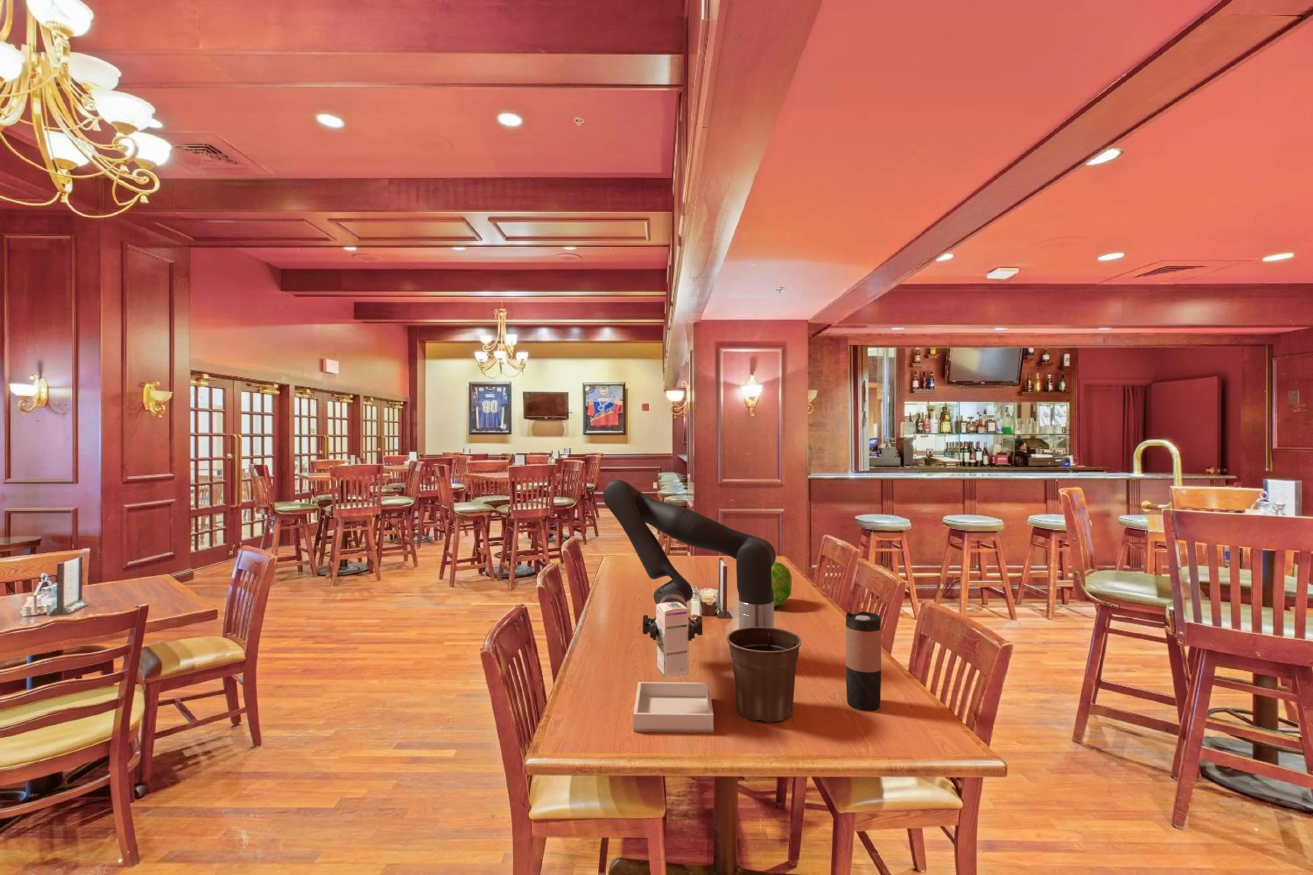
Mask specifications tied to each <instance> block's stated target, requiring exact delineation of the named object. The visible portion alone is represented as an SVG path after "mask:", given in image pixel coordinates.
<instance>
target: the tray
mask: <svg viewBox="0 0 1313 875" xmlns="http://www.w3.org/2000/svg"><path fill="white" fill-rule="evenodd" d="M635 694H636V695H635V701H634V708H633V713H632V714H633V715H632V716H633V720H632V721H633V733H688V734H689V733H691V734H692V733H697V734H698V733H699V734H700V733H701V734H703V733H704V734H705V733H707V734H708V733H709V734H711V733H712V734H713V733H714V711H713V710H714V709H713V703H712V694H711V688H710V682H690V681H689V682H685V681H684V682H682V681H681V682H680V681H679V682H678V681H677V682H675V681H674V682H672V681H671V682H669V681H668V682H667V681H662V682H661V681H638V682H637V688H636V693H635Z"/></svg>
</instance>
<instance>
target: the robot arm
mask: <svg viewBox="0 0 1313 875" xmlns="http://www.w3.org/2000/svg"><path fill="white" fill-rule="evenodd" d="M602 499H603V503H604V504H605V506H606V507H607V508H608V510H609V511H610V512H611V513H612V514H613V516H614V517H615V519H616V520H617V522H618V523H619V524H620V526H621V527H622V528H623V531H624V532H625V533H626V536H627V537H628V539H629V541H630V543H631V545H632V546H633V549H634V551H635V553H636V555H637V557H638V559H639V560H640V562H641V564H642V567H643V569H644V570H645V572H646V574H647V575H648V577H649V578H650V580H658V579H660V578H664V577H669V578H670V579H671V580H669V581H668V582H665V583H664V584H663V585H661V586H660V587H657V589H656V590H655V591H654V593H653V600H654V603H655V606H656V605H657V604H660V603H666V602H680V603H681V604H682V605H684V606H685V607H686V608H688V609H689V606H688V604H687V603H688V602H689V601H691V599H692V598H693V596H694V595H693V594H694V591H693V587H692V585H691V584H690V583H689V582H688V581H687V579H686V578H684V577H683V575H682V574H680V573H679V572H678V570H677V569H676V568H675V567H674V565H673V564H672V563H671V561H670V559H669V558H668V555H667V554H666V552H665V550H664V548H663V546H662V545H661V543H660V542H659V539H658V538H657V537H656V535H655V534H654V532H653V531H652V530H651V529H650V527H649V526H648V525H650V526H651V527H653V528H655V529H656V530H658V531H659V532H660V533H662V534H665V535H666V536H668V537H670V538H672V539H674V540H676V541H678V542H680V543H682V544H685V545H688V546H691V547H694V548H697V549H702V550H708V551H711V552H718V553H721V554H724V555H725V556H728V557H731V558H732V559H735V560H736V563H735V566H736V567H735V568H736V571H735V572H736V573H735V574H736V589H737V593H738V629H742V628H748V627H772V628H775V614H774V613H775V611H774V610H775V607H774V592H773V589H772V576H771V567H772V566H773V564H774V563H775V562H776V560H777V556H776V555H777V554H776V549H775V548H774V546H773V545H772V544H771V543H770V542H769V541H768V540H766V539H764V538H762V537H759V536H756V535H755V536H754V535H751V534H748V533H745V532H741V531H740V530H739V531H738V530H735V529H733V528H730V527H729V526H726V525H725V524H722V523H721V522H719V521H716V520H714V519H712V518H710V517H708V516H705V515H703V514H701V513H698V512H697V511H694V510H693V509H692V510H691V509H689V508H686V507H684V506H681V505H678V504H675V503H674V504H673V503H669V502H665V501H660V500H657V499H656V498H652V496H649V495H647V494H645V493H643V492H641V491H639V490H638V489H637V488H636V487H635V486H633V485H631V483H628V482H627V481H624V480H622V479H614V480H612V481H610V482H608V483H607V484H606V485H605V487H604V489H603V492H602ZM647 524H648V525H647ZM648 634H649V638H650V639H652V641H656V636H657V626H656V616H655V617H654V618H651V617H650V616H649V615H647V614H645V615H642V635H648ZM695 635H698V636H702V635H703V616H701V615H699V616H697V617H695V618H694V619H693V618H691V617H690V616H688V641H689V642H692V640H693V639H696V638H695V637H696V636H695Z"/></svg>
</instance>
